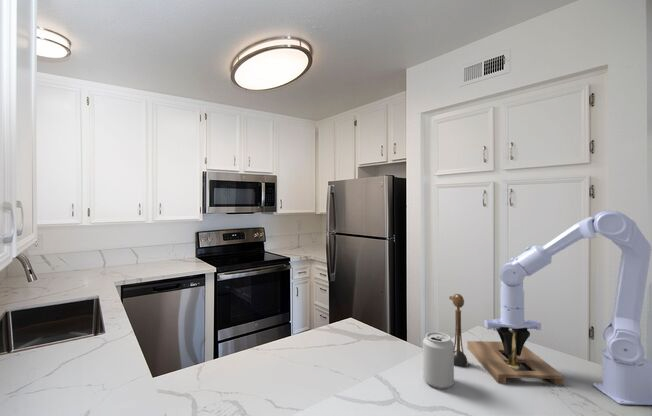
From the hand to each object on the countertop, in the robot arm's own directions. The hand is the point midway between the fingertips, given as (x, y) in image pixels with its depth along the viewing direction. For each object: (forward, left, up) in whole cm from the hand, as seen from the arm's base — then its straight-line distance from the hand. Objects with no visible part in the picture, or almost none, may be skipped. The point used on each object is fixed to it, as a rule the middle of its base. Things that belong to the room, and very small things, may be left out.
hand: (512, 354), depth 89 cm
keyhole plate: (0, -1, -4) cm, 4 cm away
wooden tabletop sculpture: (+14, -2, -4) cm, 15 cm away
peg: (0, 0, -3) cm, 4 cm away
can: (+23, +9, -4) cm, 25 cm away
